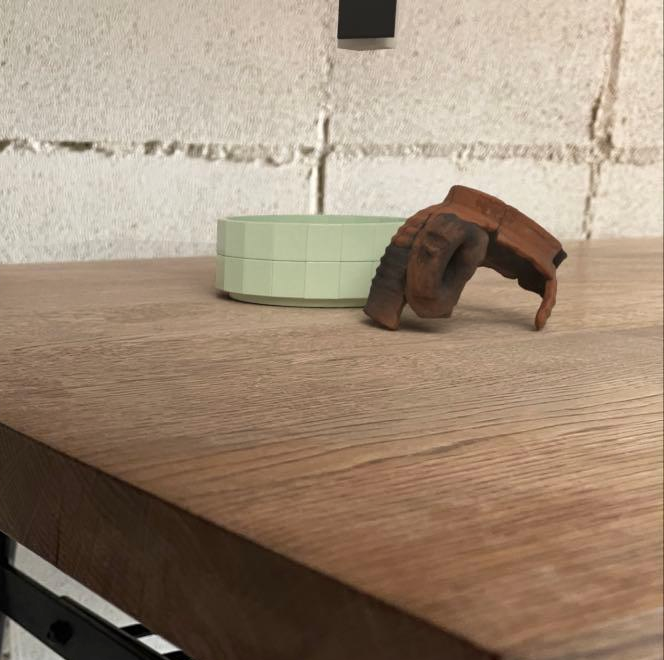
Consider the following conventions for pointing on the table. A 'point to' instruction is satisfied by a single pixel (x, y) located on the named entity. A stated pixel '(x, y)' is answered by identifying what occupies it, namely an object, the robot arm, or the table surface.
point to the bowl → (301, 258)
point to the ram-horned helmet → (462, 257)
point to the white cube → (370, 41)
